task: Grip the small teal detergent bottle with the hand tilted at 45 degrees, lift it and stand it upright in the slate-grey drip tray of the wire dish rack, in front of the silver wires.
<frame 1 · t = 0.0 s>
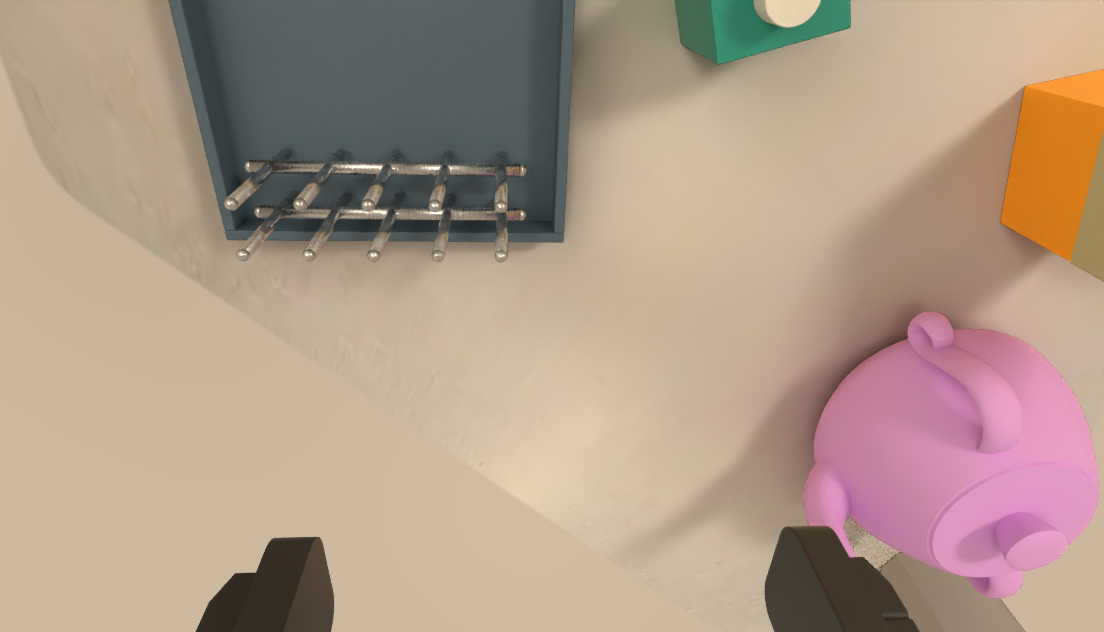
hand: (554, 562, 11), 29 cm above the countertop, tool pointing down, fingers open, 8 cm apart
orange juice: (1071, 144, 39), on the countertop
dish rack: (385, 200, 33), in the drip tray, point 5 cm above the countertop
drip tray: (391, 76, 34), on the countertop
cup: (920, 570, 59), on the countertop
teapot: (877, 413, 49), on the countertop
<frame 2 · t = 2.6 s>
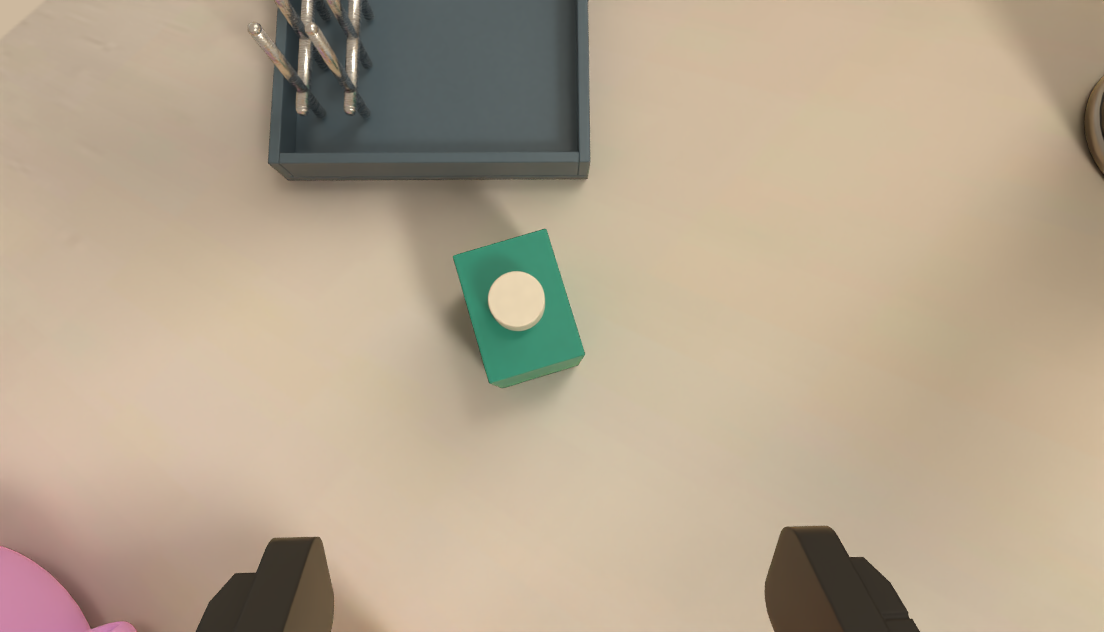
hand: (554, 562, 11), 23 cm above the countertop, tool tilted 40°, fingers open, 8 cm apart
drip tray: (441, 25, 37), on the countertop
detergent bottle: (524, 324, 35), on the countertop
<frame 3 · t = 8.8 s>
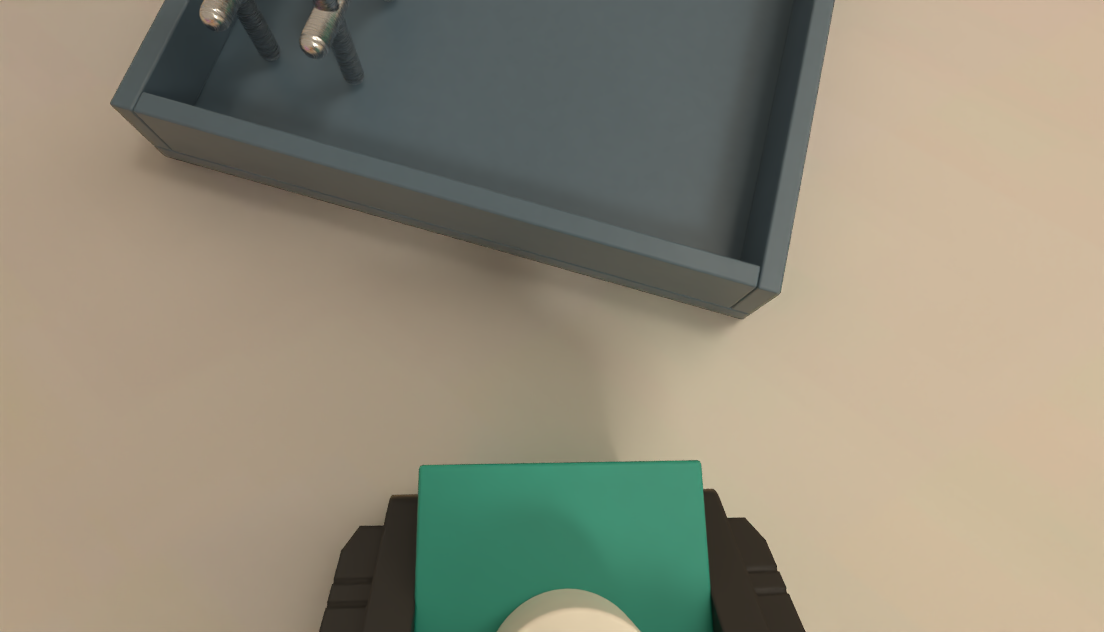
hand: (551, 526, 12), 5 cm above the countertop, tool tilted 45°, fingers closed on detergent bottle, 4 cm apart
detergent bottle: (541, 593, 16), on the countertop, touching gripper
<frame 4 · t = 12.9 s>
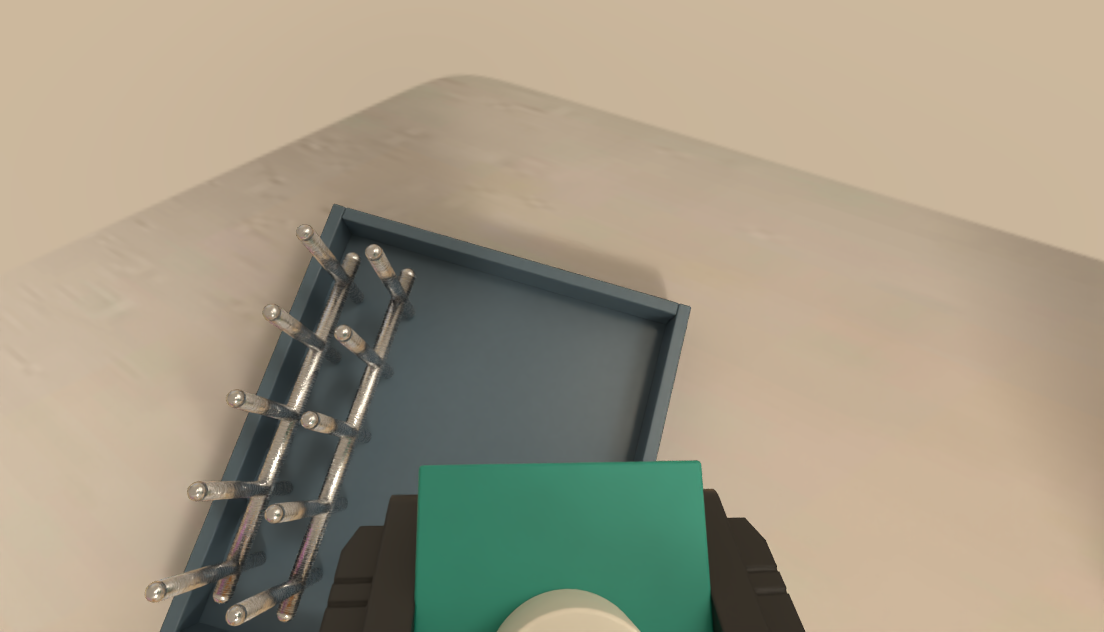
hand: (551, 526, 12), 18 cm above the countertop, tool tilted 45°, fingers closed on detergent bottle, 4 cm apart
dish rack: (310, 420, 24), in the drip tray, point 5 cm above the countertop
drip tray: (452, 461, 29), on the countertop
detergent bottle: (541, 593, 16), point 13 cm above the countertop, touching gripper
when the fingers open (5 cm above the countertop, at t = 17.1 s): detergent bottle stays where it is, resting on drip tray.
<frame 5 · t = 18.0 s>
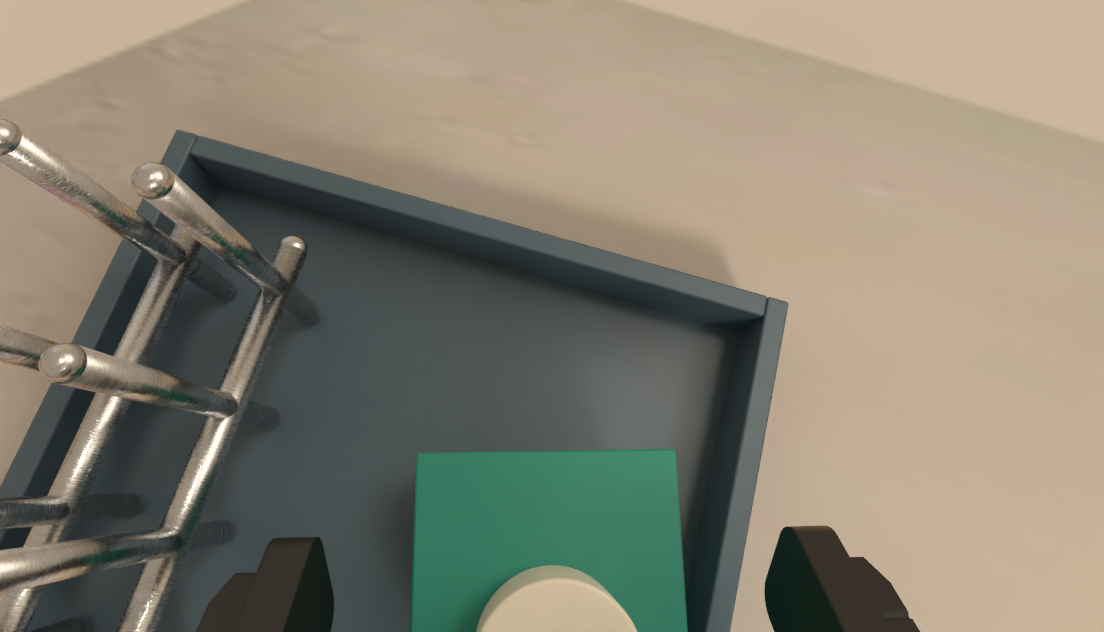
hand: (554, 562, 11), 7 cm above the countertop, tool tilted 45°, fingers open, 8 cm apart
dish rack: (70, 530, 12), in the drip tray, point 5 cm above the countertop
drip tray: (381, 569, 17), on the countertop
detergent bottle: (533, 579, 17), point 1 cm above the countertop, touching drip tray
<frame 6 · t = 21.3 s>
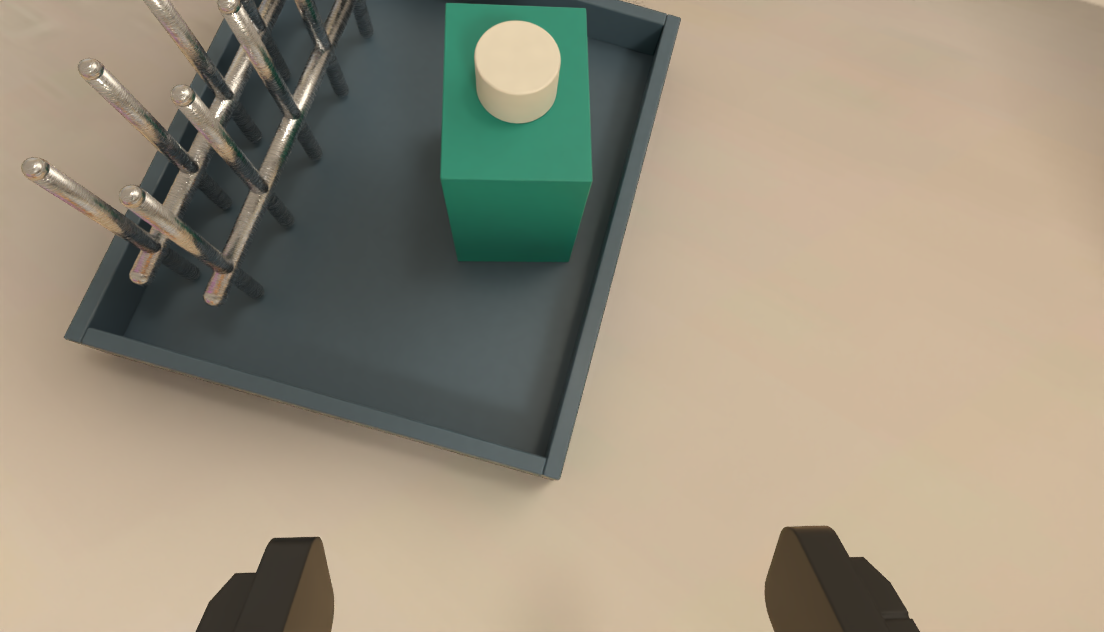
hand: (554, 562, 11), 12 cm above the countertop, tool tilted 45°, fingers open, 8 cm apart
dish rack: (244, 82, 21), in the drip tray, point 5 cm above the countertop
drip tray: (414, 191, 26), on the countertop
detergent bottle: (513, 192, 26), point 1 cm above the countertop, touching drip tray
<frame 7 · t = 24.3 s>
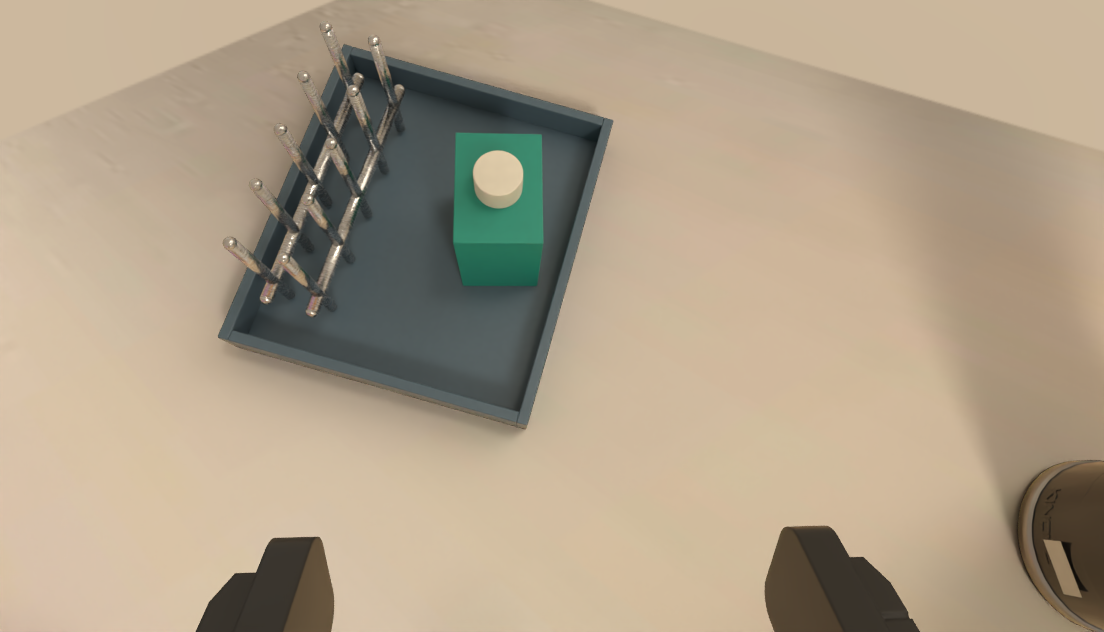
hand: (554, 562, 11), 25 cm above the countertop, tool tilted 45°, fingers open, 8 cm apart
dish rack: (329, 176, 34), in the drip tray, point 5 cm above the countertop
drip tray: (434, 237, 39), on the countertop
detergent bottle: (500, 238, 38), point 1 cm above the countertop, touching drip tray
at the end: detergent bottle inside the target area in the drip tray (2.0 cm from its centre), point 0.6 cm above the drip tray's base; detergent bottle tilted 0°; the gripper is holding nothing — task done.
